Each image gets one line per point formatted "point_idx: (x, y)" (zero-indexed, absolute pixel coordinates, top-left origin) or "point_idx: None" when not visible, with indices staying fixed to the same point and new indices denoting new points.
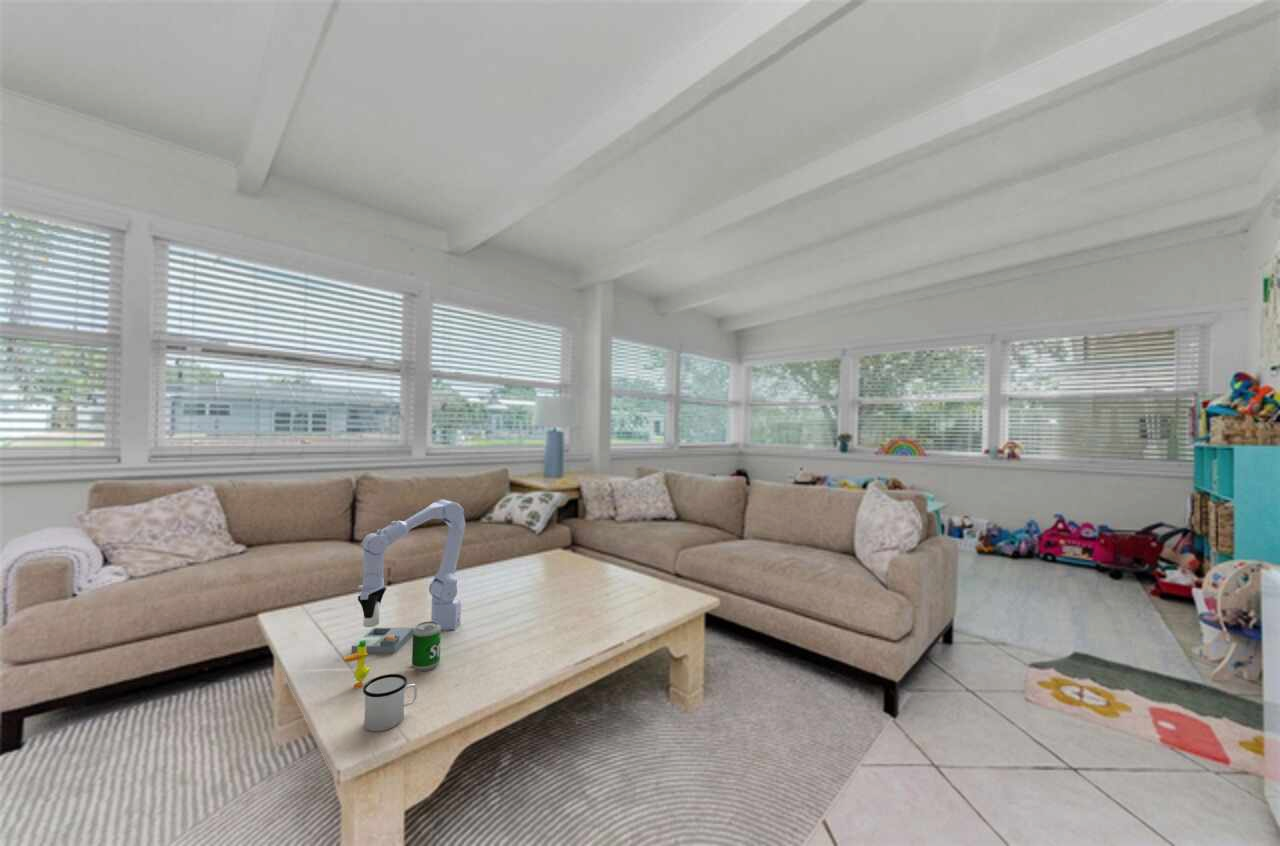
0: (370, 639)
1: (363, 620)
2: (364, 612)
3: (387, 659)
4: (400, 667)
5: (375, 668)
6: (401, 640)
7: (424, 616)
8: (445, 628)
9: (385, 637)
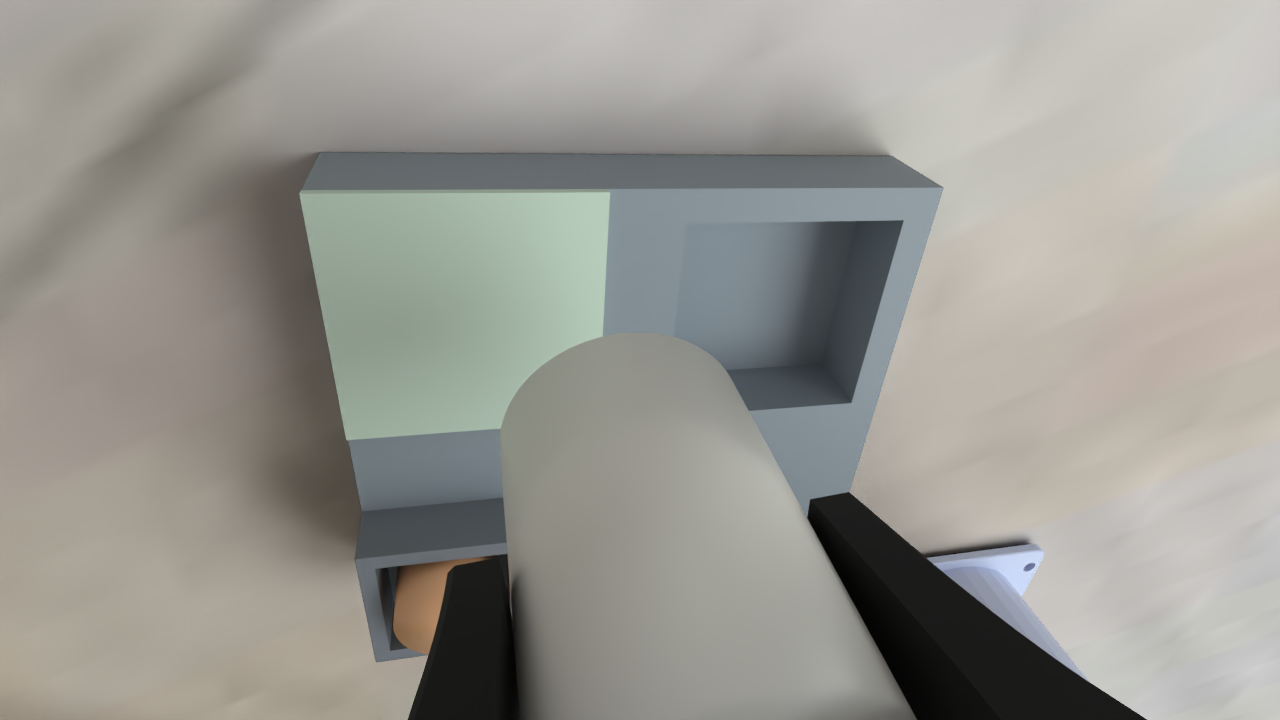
0: (533, 339)
1: (578, 411)
2: (426, 698)
3: (270, 553)
4: (145, 693)
5: (50, 551)
6: None
7: (1178, 434)
8: None
9: (412, 598)
